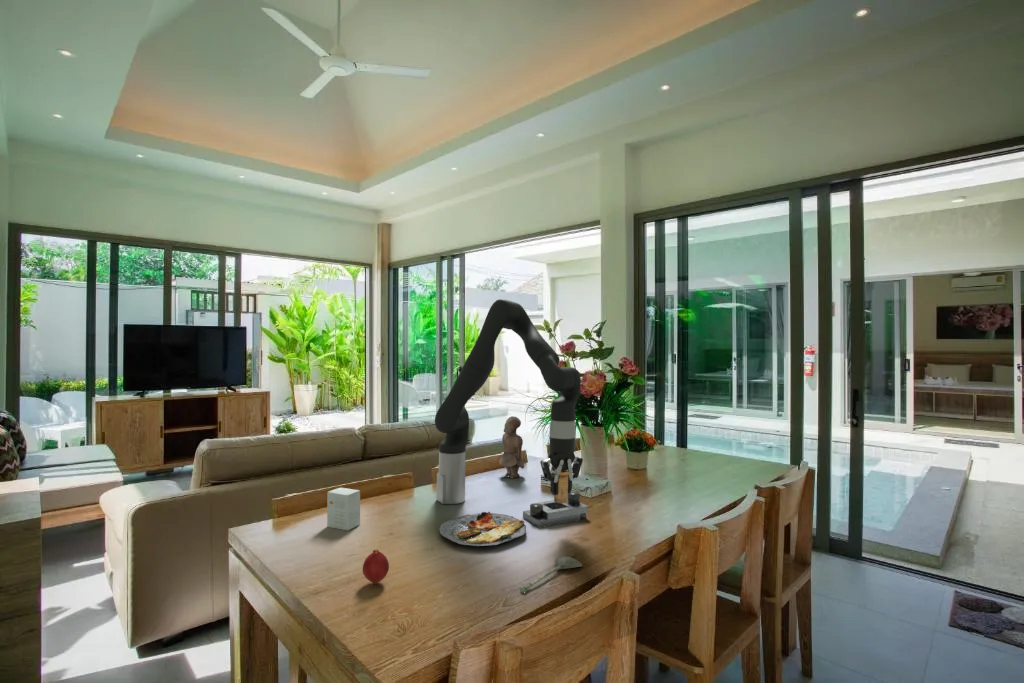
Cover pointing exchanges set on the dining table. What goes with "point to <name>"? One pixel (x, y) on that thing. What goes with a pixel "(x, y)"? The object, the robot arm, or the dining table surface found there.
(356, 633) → the dining table surface
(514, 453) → the clay figurine
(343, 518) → the small box
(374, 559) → the onion
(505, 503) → the dining table surface
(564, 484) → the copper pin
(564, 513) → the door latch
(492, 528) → the food plate
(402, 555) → the dining table surface
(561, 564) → the soupspoon
